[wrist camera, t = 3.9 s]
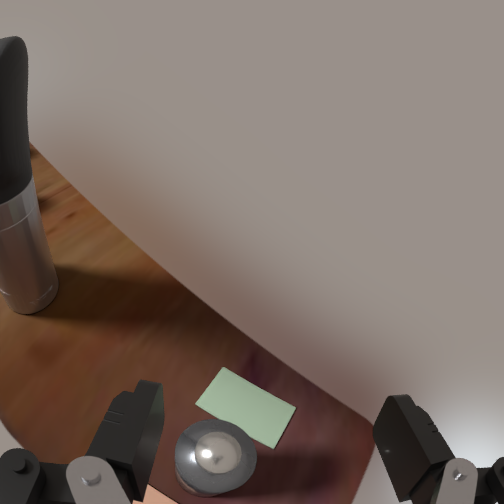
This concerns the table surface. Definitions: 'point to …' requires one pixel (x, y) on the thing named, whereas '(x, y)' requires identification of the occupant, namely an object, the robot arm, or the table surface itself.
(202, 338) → the table surface
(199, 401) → the mat
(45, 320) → the table surface
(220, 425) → the bottle
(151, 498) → the mat
